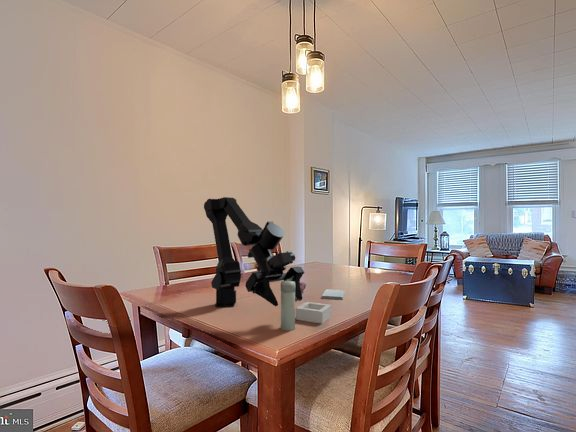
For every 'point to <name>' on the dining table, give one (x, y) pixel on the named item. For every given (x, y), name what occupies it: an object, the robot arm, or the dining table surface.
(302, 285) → the video game controller
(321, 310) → the housing
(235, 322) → the dining table surface
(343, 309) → the dining table surface
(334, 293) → the hard drive
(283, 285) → the toggle switch lever
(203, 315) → the dining table surface
